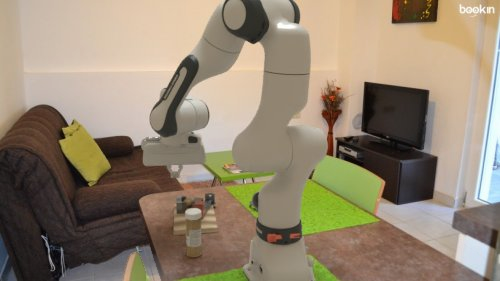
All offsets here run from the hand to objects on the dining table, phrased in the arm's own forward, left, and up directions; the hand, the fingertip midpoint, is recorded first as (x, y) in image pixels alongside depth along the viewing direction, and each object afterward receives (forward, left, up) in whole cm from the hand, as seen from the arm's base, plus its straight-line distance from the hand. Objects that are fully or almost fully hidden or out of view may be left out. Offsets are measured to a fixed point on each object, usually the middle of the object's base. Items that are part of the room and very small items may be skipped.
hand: (175, 177), depth 132 cm
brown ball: (+7, -4, -14) cm, 16 cm away
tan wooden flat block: (+2, -6, -16) cm, 17 cm away
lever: (+6, -9, -14) cm, 18 cm away
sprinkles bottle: (-22, -5, -16) cm, 28 cm away
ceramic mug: (+8, -32, -17) cm, 36 cm away
